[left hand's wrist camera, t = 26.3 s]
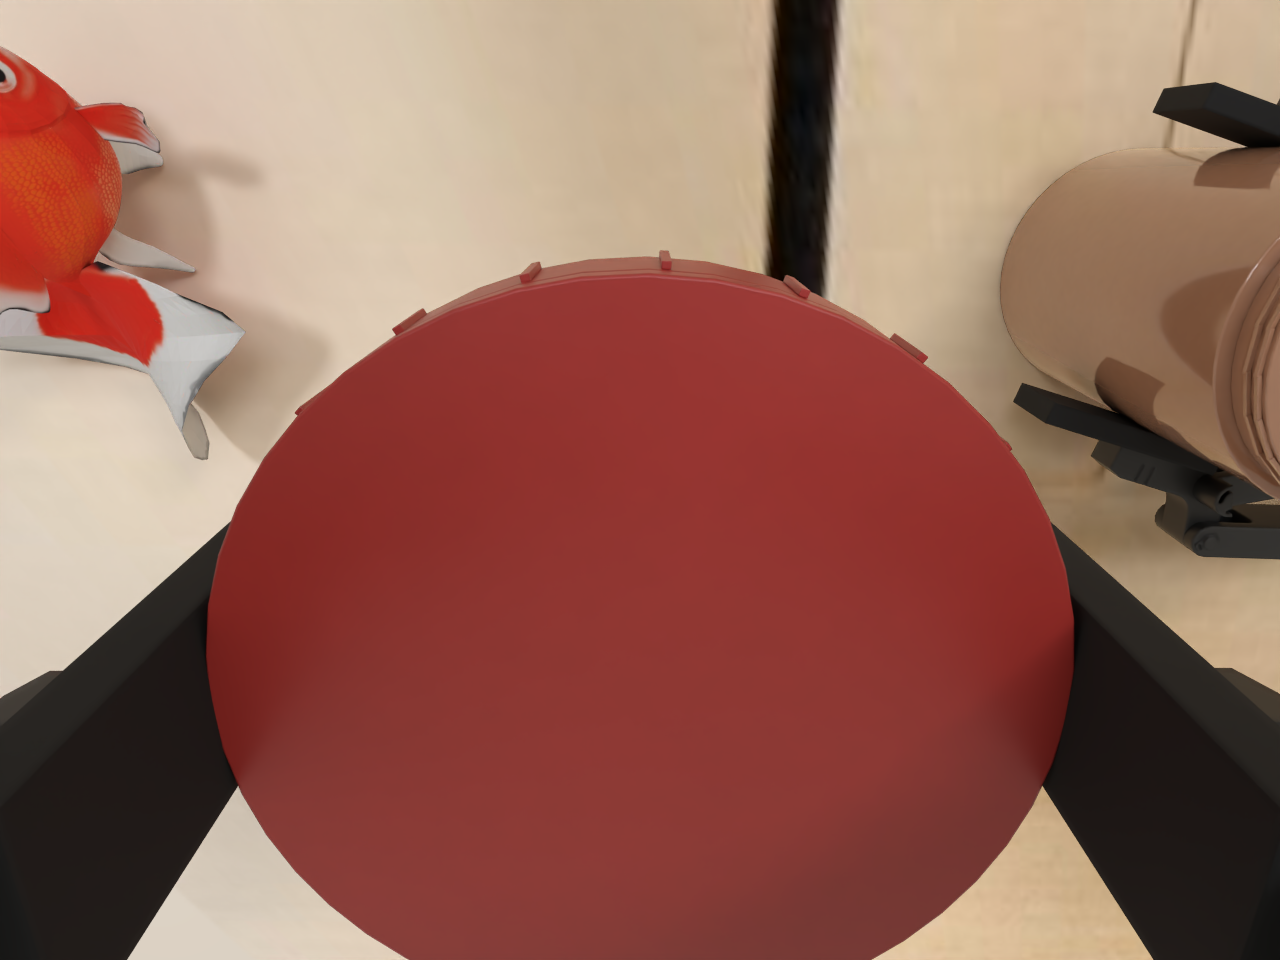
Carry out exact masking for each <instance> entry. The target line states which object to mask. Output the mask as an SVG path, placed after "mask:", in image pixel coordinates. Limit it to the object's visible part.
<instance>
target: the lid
mask: <svg viewBox="0 0 1280 960" xmlns="http://www.w3.org/2000/svg"><path fill="white" fill-rule="evenodd" d="M392 330H393V331H394V333H395V334H396V335H395V336H394V337H392V338H391V339H390V340H388V341H387V342H385V343H384V344H382V345H381V346H380V347H378V348H377V349H375V350H374V351H373V352H371V353H370V354H368V355H367V356H366V357H364V358H363V359H362V360H360V361H359V362H357V363H356V364H355V365H353V366H352V367H351V368H349V369H348V370H346V371H345V372H344V373H343V374H341V375H340V376H339V377H338V378H337V379H336V380H335V381H334V382H333V383H332V384H330V385H329V386H328V387H326V388H325V389H324V390H322V391H321V392H319V393H318V394H317V395H315V396H314V397H313V398H311V399H310V400H309V401H307V402H306V403H304V404H303V405H302V406H300V407H299V408H298V410H297V411H296V412H295V414H296V415H298V416H297V417H296V418H295V420H294V421H293V422H292V424H291V425H290V426H289V427H288V429H287V430H286V431H285V432H284V434H283V435H282V436H281V437H280V439H279V440H278V441H277V442H276V444H275V445H274V446H273V447H272V449H271V450H270V451H269V452H268V454H267V455H266V456H265V457H264V459H263V461H262V462H261V464H260V466H259V468H258V469H257V471H256V473H255V475H254V477H253V478H252V480H251V482H250V484H249V485H248V487H247V489H246V491H245V492H244V494H243V496H242V498H241V499H240V501H239V503H238V505H237V507H236V509H235V512H234V515H233V517H232V520H231V523H230V525H229V528H228V531H227V533H226V536H225V539H224V541H223V544H222V547H221V549H220V552H219V555H218V559H217V564H216V569H215V574H214V578H213V583H212V588H211V593H210V598H209V603H208V616H207V639H206V663H207V672H208V679H209V685H210V690H211V696H212V701H213V706H214V711H215V715H216V720H217V724H218V729H219V733H220V738H221V742H222V747H223V751H224V753H225V756H226V758H227V760H228V763H229V765H230V767H231V770H232V772H233V774H234V777H235V779H236V781H237V784H238V786H239V788H240V791H241V793H242V795H243V797H244V798H245V800H246V802H247V803H248V805H249V807H250V808H251V810H252V812H253V813H254V815H255V817H256V818H257V820H258V822H259V823H260V825H261V827H262V828H263V830H264V832H265V833H266V835H267V836H268V838H269V839H270V840H271V841H272V843H273V844H274V845H275V846H276V848H277V849H278V850H279V851H280V853H281V854H282V855H283V857H284V858H285V859H286V860H287V862H288V863H289V864H290V865H291V867H292V868H293V869H294V870H295V872H296V873H297V874H298V875H299V876H300V877H301V878H302V879H303V880H304V881H305V882H306V883H308V884H309V885H310V886H311V887H312V888H313V889H314V890H315V891H316V892H317V893H318V894H319V895H320V896H321V897H322V898H323V899H324V900H325V901H326V902H327V903H328V904H329V905H330V906H331V907H333V908H334V909H335V910H336V911H338V912H339V913H340V914H342V915H343V916H344V917H345V918H347V919H348V920H349V921H351V922H352V923H353V924H354V925H356V926H357V927H358V928H359V929H361V930H362V931H363V932H365V933H366V934H367V935H369V936H371V937H372V938H374V939H376V940H377V941H379V942H380V943H382V944H384V945H385V946H387V947H389V948H390V949H392V950H393V951H395V952H397V953H398V954H400V955H401V956H403V957H405V958H406V959H408V960H872V959H874V958H875V957H877V956H879V955H881V954H882V953H884V952H886V951H887V950H889V949H891V948H893V947H894V946H896V945H898V944H900V943H901V942H903V941H905V940H906V939H907V938H909V937H910V936H911V935H913V934H914V933H916V932H917V931H918V930H920V929H921V928H922V927H924V926H925V925H926V924H928V923H929V922H931V921H932V920H933V919H935V918H936V917H937V916H939V915H940V914H941V913H943V912H944V911H945V910H946V909H947V908H948V907H949V906H950V905H951V904H952V903H953V902H955V901H956V900H957V899H958V898H959V897H960V896H961V895H962V894H963V893H964V892H965V891H966V890H968V889H969V888H970V887H971V886H972V885H973V884H974V883H975V882H976V881H977V880H978V879H979V878H980V877H981V875H982V874H983V873H984V872H985V871H986V869H987V868H988V867H989V866H990V865H991V864H992V862H993V861H994V860H995V859H996V858H997V856H998V855H999V854H1000V853H1001V852H1002V851H1003V849H1004V848H1005V847H1006V846H1007V844H1008V843H1009V841H1010V840H1011V838H1012V837H1013V835H1014V834H1015V832H1016V831H1017V829H1018V828H1019V826H1020V824H1021V823H1022V821H1023V820H1024V818H1025V817H1026V815H1027V814H1028V812H1029V811H1030V809H1031V808H1032V806H1033V804H1034V802H1035V800H1036V798H1037V795H1038V793H1039V791H1040V789H1041V787H1042V785H1043V783H1044V781H1045V779H1046V776H1047V774H1048V772H1049V770H1050V768H1051V766H1052V764H1053V761H1054V758H1055V754H1056V751H1057V748H1058V745H1059V741H1060V738H1061V733H1062V729H1063V725H1064V720H1065V716H1066V711H1067V705H1068V700H1069V695H1070V690H1071V685H1072V680H1073V674H1074V616H1073V610H1072V604H1071V598H1070V592H1069V586H1068V579H1067V573H1066V568H1065V565H1064V562H1063V559H1062V556H1061V553H1060V550H1059V547H1058V544H1057V541H1056V538H1055V535H1054V532H1053V528H1052V525H1051V522H1050V519H1049V517H1048V515H1047V513H1046V511H1045V509H1044V508H1043V506H1042V504H1041V502H1040V500H1039V498H1038V496H1037V494H1036V492H1035V490H1034V488H1033V486H1032V484H1031V482H1030V480H1029V479H1028V477H1027V475H1026V473H1025V471H1024V469H1023V468H1022V467H1021V465H1020V464H1019V462H1018V461H1017V460H1016V458H1015V457H1014V456H1013V454H1012V453H1011V452H1010V451H1011V450H1012V448H1011V446H1010V445H1009V443H1008V442H1006V441H1005V440H1004V439H1002V438H1001V437H1000V436H999V435H998V434H997V433H996V431H995V430H994V428H993V427H992V426H991V424H990V423H989V422H988V421H987V420H986V419H985V418H984V417H983V416H982V415H981V414H980V413H979V412H978V411H977V410H976V409H975V408H974V407H973V406H972V405H971V404H970V403H969V402H968V401H967V400H966V399H965V398H964V397H963V396H962V395H961V394H960V393H959V392H958V391H957V390H956V389H955V388H954V387H953V386H952V385H951V384H950V383H949V382H947V381H946V380H944V379H943V378H942V377H940V376H939V375H938V374H936V373H935V372H934V371H932V370H931V369H930V368H928V367H927V366H926V365H924V364H923V363H924V362H925V361H926V359H927V358H928V356H926V355H925V354H924V353H922V352H921V351H920V350H918V349H917V348H915V347H914V346H912V345H911V344H909V343H908V342H907V341H905V340H904V339H902V338H901V337H899V336H898V335H897V334H895V333H894V334H893V336H892V337H891V338H890V339H889V338H888V337H886V336H885V335H884V334H882V333H881V332H879V331H878V330H877V329H875V328H874V327H873V326H871V325H870V324H869V323H867V322H866V321H864V320H863V319H861V318H859V317H857V316H855V315H853V314H852V313H850V312H848V311H846V310H844V309H842V308H840V307H839V306H837V305H835V304H833V303H831V302H829V301H828V300H826V299H824V298H822V297H820V296H818V295H816V294H814V293H811V292H810V290H809V289H807V288H806V287H805V286H803V285H802V284H801V283H800V282H798V281H797V280H796V279H795V278H793V277H790V276H788V275H786V276H785V279H784V281H783V282H782V281H779V280H777V279H774V278H771V277H769V276H766V275H763V274H759V273H755V272H750V271H746V270H741V269H737V268H732V267H728V266H724V265H719V264H715V263H710V262H705V261H693V260H682V259H671V258H670V254H669V251H662V250H661V251H660V254H659V258H658V257H630V258H610V259H590V260H584V261H579V262H574V263H568V264H563V265H557V266H552V267H547V268H541V264H540V262H536V263H532V264H531V265H530V266H529V267H528V268H527V269H526V270H524V271H523V272H522V273H521V274H519V275H516V276H513V277H510V278H507V279H504V280H501V281H498V282H495V283H492V284H489V285H486V286H483V287H480V288H478V289H476V290H474V291H472V292H470V293H468V294H466V295H464V296H461V297H459V298H457V299H455V300H453V301H451V302H449V303H447V304H445V305H443V306H441V307H439V308H437V309H435V310H433V311H431V312H429V313H426V312H425V310H424V309H423V308H422V309H421V310H419V311H417V312H416V313H414V314H413V315H411V316H410V317H409V318H407V319H406V320H404V321H403V322H401V323H400V324H398V325H397V326H396V327H394V328H393V329H392Z"/></svg>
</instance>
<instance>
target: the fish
mask: <svg viewBox="0 0 1280 960" xmlns="http://www.w3.org/2000/svg"><path fill="white" fill-rule="evenodd" d="M159 152H160V143H159V140H158V139H157V138H156V136H155V135H154V134H153V133H152V131H151V130H150V129H149V128H148V126H147V124H146V121H145V118H144V116H143V113H142V112H141V111H139V110H138V109H136V108H133V107H128V106H125V105H123V104H121V103H101V104H94V105H88V106H81V105H80V104H79V103H78V102H77V101H76V100H75V99H73V98H72V97H71V96H70V95H69V94H67V93H66V91H65V90H64V89H62V88H61V87H60V86H59V85H58V84H57V83H56V82H54V81H53V80H51V79H50V78H49V77H47V76H46V75H44V74H43V73H42V72H40V71H39V70H38V69H37V68H36V67H34V66H33V65H31V64H30V63H28V62H27V61H25V60H23V59H22V58H20V57H19V56H17V55H15V54H14V53H12V52H10V51H9V50H7V49H5V48H3V47H1V46H0V350H6V351H15V352H24V353H33V354H42V355H51V356H60V357H69V358H77V359H83V360H89V361H95V362H101V363H107V364H113V365H118V366H124V367H128V368H131V369H134V370H138V371H141V372H144V373H147V374H149V375H150V377H151V378H152V380H153V381H154V383H155V385H156V386H157V388H158V390H159V391H160V393H161V394H162V396H163V398H164V400H165V401H166V403H167V405H168V407H169V409H170V411H171V413H172V415H173V418H174V420H175V423H176V424H177V426H178V428H179V430H180V432H181V433H182V435H183V437H184V439H185V441H186V443H187V446H188V448H189V449H190V451H191V453H192V454H193V456H194V457H195V458H198V459H201V460H205V459H208V451H209V440H208V437H207V434H206V430H205V428H204V425H203V422H202V420H201V417H200V414H199V412H198V411H197V410H196V409H195V408H194V406H193V405H192V404H191V402H192V401H193V399H194V397H195V396H196V394H197V392H198V391H199V389H200V387H201V386H202V384H203V382H204V381H205V379H206V378H207V377H208V376H209V375H210V374H211V373H212V372H213V371H214V370H215V369H216V368H217V367H218V366H219V365H220V363H221V362H222V361H223V360H224V359H225V358H226V357H227V356H228V354H229V353H230V352H231V350H232V349H233V348H234V346H235V345H236V344H237V343H238V341H239V340H240V339H241V337H242V336H243V335H244V333H245V331H244V330H243V329H242V328H241V327H239V326H238V325H237V324H236V323H235V322H233V321H232V320H231V319H230V318H229V317H227V316H226V315H225V314H224V313H223V312H220V311H218V310H215V309H213V308H210V307H208V306H206V305H203V304H201V303H198V302H196V301H193V300H191V299H188V298H186V297H183V296H181V295H179V294H177V293H174V292H172V291H170V290H168V289H166V288H164V287H161V286H159V285H157V284H155V283H152V282H150V281H147V280H145V279H142V278H140V277H137V276H135V275H132V274H130V273H127V272H125V271H122V270H119V269H117V268H114V267H111V266H109V265H106V264H104V263H101V262H98V261H97V262H95V263H94V259H95V257H96V255H97V253H98V251H99V252H100V253H101V254H102V255H104V256H105V257H106V258H108V259H109V260H111V261H113V262H115V263H118V264H121V265H127V266H136V267H151V268H163V269H171V270H179V271H186V272H195V270H196V269H195V268H194V267H192V266H190V265H188V264H186V263H184V262H182V261H181V260H179V259H177V258H175V257H173V256H171V255H170V254H168V253H166V252H164V251H162V250H160V249H158V248H155V247H153V246H150V245H148V244H145V243H143V242H140V241H137V240H135V239H132V238H130V237H128V236H126V235H124V234H122V233H120V232H119V231H117V230H116V229H115V228H114V225H115V223H116V220H117V217H118V213H119V209H120V204H121V195H122V174H129V173H133V172H136V171H139V170H142V169H146V168H153V167H159V166H162V165H163V158H162V157H161V155H160V154H158V153H159ZM121 173H122V174H121Z"/></svg>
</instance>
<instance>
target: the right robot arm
mask: <svg viewBox="0 0 1280 960" xmlns="http://www.w3.org/2000/svg"><path fill="white" fill-rule="evenodd" d="M1153 113H1156V114H1158V115H1161V116H1164V117H1167V118H1169V119H1172V120H1175V121H1178V122H1180V123H1183V124H1186V125H1189V126H1191V127H1194V128H1197V129H1200V130H1202V131H1205V132H1208V133H1211V134H1213V135H1216V136H1219V137H1222V138H1225V139H1227V140H1230V141H1233V142H1236V143H1238V144H1241V145H1244V146H1247V147H1280V100H1279V101H1278V103H1277V105H1276V104H1273V103H1270V102H1268V101H1265V100H1262V99H1260V98H1257V97H1254V96H1251V95H1249V94H1246V93H1243V92H1241V91H1238V90H1235V89H1233V88H1230V87H1227V86H1224V85H1222V84H1219V83H1216V82H1214V83H1205V84H1197V85H1189V86H1181V87H1173V88H1165V89H1163V91H1162V94H1161V96H1160V98H1159V100H1158V102H1157V104H1156V106H1155V108H1154V110H1153ZM1013 402H1014V403H1016V404H1017V405H1019V406H1020V407H1022V408H1023V409H1025V410H1026V411H1028V412H1029V413H1031V414H1032V415H1034V416H1035V417H1037V418H1038V419H1040V420H1041V421H1043V422H1044V423H1047V424H1050V425H1053V426H1056V427H1059V428H1063V429H1066V430H1069V431H1072V432H1075V433H1079V434H1082V435H1085V436H1088V437H1091V438H1095V439H1098V440H1099V441H1098V443H1097V445H1096V447H1095V449H1094V451H1093V453H1092V455H1091V456H1092V457H1093V458H1094V459H1095V460H1096V461H1097V462H1098V463H1099V464H1101V465H1102V466H1103V467H1105V468H1106V469H1108V470H1109V471H1111V472H1112V473H1114V474H1115V475H1117V476H1118V477H1120V478H1123V479H1126V480H1129V481H1132V482H1136V483H1139V484H1142V485H1146V486H1149V487H1152V488H1155V489H1158V490H1162V491H1165V492H1166V494H1167V496H1166V504H1164V505H1162V506H1161V507H1160V508H1159V509H1158V510H1157V513H1156V515H1155V522H1156V524H1157V526H1158V527H1160V528H1161V529H1162V530H1164V531H1165V532H1166V533H1168V534H1169V535H1170V536H1172V537H1173V538H1175V539H1176V540H1177V541H1179V542H1180V543H1181V544H1183V545H1184V546H1186V547H1187V548H1189V549H1190V550H1191V551H1193V552H1194V553H1196V554H1197V555H1199V556H1203V557H1227V558H1257V559H1280V505H1264V504H1247V503H1252V502H1258V501H1263V500H1269V499H1274V498H1273V497H1272V496H1270V495H1268V494H1266V493H1264V492H1262V491H1261V490H1259V489H1257V488H1255V487H1253V486H1251V485H1250V484H1248V483H1246V482H1244V481H1242V480H1240V479H1238V478H1237V477H1235V476H1233V475H1231V474H1229V473H1227V472H1226V471H1224V470H1222V469H1220V468H1218V467H1216V466H1215V465H1213V464H1211V463H1209V462H1207V461H1205V460H1203V459H1202V458H1200V457H1198V456H1196V455H1194V454H1192V453H1191V452H1189V451H1187V450H1185V449H1183V448H1181V447H1180V446H1178V445H1176V444H1174V443H1172V442H1170V441H1169V440H1167V439H1165V438H1163V437H1161V436H1159V435H1157V434H1156V433H1154V432H1152V431H1150V430H1148V429H1146V428H1145V427H1143V426H1141V425H1139V424H1137V423H1135V422H1134V421H1132V420H1130V419H1128V418H1126V417H1124V416H1122V415H1121V414H1118V413H1115V412H1112V411H1109V410H1106V409H1103V408H1100V407H1096V406H1093V405H1090V404H1087V403H1084V402H1081V401H1078V400H1074V399H1071V398H1068V397H1065V396H1062V395H1059V394H1056V393H1052V392H1049V391H1046V390H1043V389H1040V388H1037V387H1033V386H1030V385H1027V384H1024V383H1022V384H1021V386H1020V389H1019V391H1018V393H1017V395H1016V397H1015V399H1014V401H1013Z"/></svg>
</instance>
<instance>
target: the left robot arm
mask: <svg viewBox="0 0 1280 960" xmlns="http://www.w3.org/2000/svg"><path fill="white" fill-rule="evenodd" d="M230 523H231V522H229V523H228V524H227V525H226V526H225V527H224V528H223V529H222V530H220V531H219V532H218V533H217V534H216V535H215V536H214V537H213V538H211V539H210V540H209V541H208V542H207V543H206V544H205V545H204V546H203V547H201V548H200V549H199V550H198V551H197V552H196V553H195V554H194V555H192V556H191V557H190V558H189V559H188V560H187V561H186V562H185V563H183V564H182V565H181V566H180V567H179V568H178V569H177V570H176V571H174V572H173V573H172V574H171V575H170V576H169V577H168V578H167V579H165V580H164V581H163V582H162V583H161V584H160V585H159V586H158V587H157V588H155V589H154V590H153V591H152V592H151V593H150V594H149V595H148V596H146V597H145V598H144V599H143V600H142V601H141V602H140V603H139V604H137V605H136V606H135V607H134V608H133V609H132V610H131V611H130V612H128V613H127V614H126V615H125V616H124V617H123V618H122V619H121V620H119V621H118V622H117V623H116V624H115V625H114V626H113V627H112V628H111V629H109V630H108V631H107V632H106V633H105V634H104V635H103V636H102V637H100V638H99V639H98V640H97V641H96V642H95V643H94V644H93V645H91V646H90V647H89V648H88V649H87V650H86V651H85V652H84V653H82V654H81V655H80V656H79V657H78V658H77V659H76V660H75V661H73V662H72V663H71V664H70V665H69V666H68V667H67V668H66V669H65V670H63V671H49V672H47V673H45V674H43V675H41V676H40V677H38V678H36V679H34V680H32V681H30V682H28V683H27V684H25V685H23V686H21V687H19V688H17V689H15V690H14V691H12V692H10V693H8V694H6V695H4V696H3V697H2V698H0V960H127V959H128V957H129V956H130V954H131V953H132V951H133V950H134V948H135V946H136V945H137V943H138V942H139V940H140V939H141V937H142V935H143V934H144V932H145V931H146V929H147V928H148V926H149V924H150V923H151V921H152V920H153V918H154V917H155V915H156V913H157V912H158V910H159V909H160V907H161V906H162V904H163V903H164V901H165V899H166V898H167V896H168V895H169V893H170V892H171V890H172V888H173V887H174V885H175V884H176V882H177V881H178V879H179V877H180V876H181V874H182V873H183V871H184V870H185V868H186V867H187V865H188V863H189V862H190V860H191V859H192V857H193V856H194V854H195V852H196V851H197V849H198V848H199V846H200V845H201V843H202V841H203V840H204V838H205V837H206V835H207V834H208V832H209V831H210V829H211V827H212V826H213V824H214V823H215V821H216V820H217V818H218V816H219V815H220V813H221V812H222V810H223V809H224V807H225V805H226V804H227V802H228V801H229V799H230V798H231V796H232V795H233V793H234V791H235V790H236V788H237V787H238V784H237V781H236V779H235V777H234V774H233V772H232V770H231V767H230V765H229V763H228V760H227V758H226V756H225V753H224V751H223V747H222V742H221V738H220V733H219V729H218V724H217V720H216V715H215V711H214V706H213V701H212V696H211V690H210V685H209V679H208V672H207V663H206V639H207V616H208V603H209V598H210V593H211V588H212V583H213V578H214V574H215V569H216V564H217V559H218V555H219V552H220V549H221V547H222V544H223V541H224V539H225V536H226V533H227V531H228V528H229V525H230ZM1051 525H1052V528H1053V532H1054V535H1055V538H1056V541H1057V544H1058V547H1059V550H1060V553H1061V556H1062V559H1063V562H1064V565H1065V568H1066V573H1067V579H1068V586H1069V592H1070V598H1071V604H1072V610H1073V616H1074V674H1073V680H1072V685H1071V690H1070V695H1069V700H1068V705H1067V711H1066V716H1065V720H1064V725H1063V729H1062V733H1061V738H1060V741H1059V745H1058V748H1057V751H1056V754H1055V758H1054V761H1053V764H1052V766H1051V768H1050V770H1049V772H1048V774H1047V776H1046V779H1045V781H1044V783H1043V785H1042V786H1043V787H1044V789H1045V790H1046V792H1047V794H1048V795H1049V797H1050V798H1051V800H1052V801H1053V803H1054V805H1055V806H1056V808H1057V809H1058V811H1059V812H1060V814H1061V816H1062V817H1063V819H1064V820H1065V822H1066V823H1067V825H1068V827H1069V828H1070V830H1071V831H1072V833H1073V834H1074V836H1075V837H1076V839H1077V841H1078V842H1079V844H1080V845H1081V847H1082V848H1083V850H1084V852H1085V853H1086V855H1087V856H1088V858H1089V859H1090V861H1091V863H1092V864H1093V866H1094V867H1095V869H1096V870H1097V872H1098V873H1099V875H1100V877H1101V878H1102V880H1103V881H1104V883H1105V884H1106V886H1107V888H1108V889H1109V891H1110V892H1111V894H1112V895H1113V897H1114V899H1115V900H1116V902H1117V903H1118V905H1119V906H1120V908H1121V909H1122V911H1123V913H1124V914H1125V916H1126V917H1127V919H1128V920H1129V922H1130V924H1131V925H1132V927H1133V928H1134V930H1135V931H1136V933H1137V935H1138V936H1139V938H1140V939H1141V941H1142V942H1143V944H1144V946H1145V947H1146V949H1147V950H1148V952H1149V953H1150V955H1151V956H1152V958H1153V960H1280V694H1279V693H1277V692H1275V691H1273V690H1272V689H1270V688H1268V687H1266V686H1264V685H1262V684H1260V683H1258V682H1257V681H1255V680H1253V679H1251V678H1249V677H1247V676H1245V675H1244V674H1242V673H1240V672H1238V671H1236V670H1234V669H1232V668H1214V667H1213V666H1212V665H1210V664H1209V663H1208V662H1207V661H1206V660H1205V659H1204V658H1203V657H1202V656H1200V655H1199V654H1198V653H1197V652H1196V651H1195V650H1194V649H1193V648H1191V647H1190V646H1189V645H1188V644H1187V643H1186V642H1185V641H1184V640H1182V639H1181V638H1180V637H1179V636H1178V635H1177V634H1176V633H1175V632H1173V631H1172V630H1171V629H1170V628H1169V627H1168V626H1167V625H1166V624H1164V623H1163V622H1162V621H1161V620H1160V619H1159V618H1158V617H1157V616H1156V615H1154V614H1153V613H1152V612H1151V611H1150V610H1149V609H1148V608H1147V607H1145V606H1144V605H1143V604H1142V603H1141V602H1140V601H1139V600H1138V599H1136V598H1135V597H1134V596H1133V595H1132V594H1131V593H1130V592H1129V591H1127V590H1126V589H1125V588H1124V587H1123V586H1122V585H1121V584H1120V583H1118V582H1117V581H1116V580H1115V579H1114V578H1113V577H1112V576H1111V575H1110V574H1108V573H1107V572H1106V571H1105V570H1104V569H1103V568H1102V567H1101V566H1099V565H1098V564H1097V563H1096V562H1095V561H1094V560H1093V559H1092V558H1090V557H1089V556H1088V555H1087V554H1086V553H1085V552H1084V551H1083V550H1081V549H1080V548H1079V547H1078V546H1077V545H1076V544H1075V543H1074V542H1072V541H1071V540H1070V539H1069V538H1068V537H1067V536H1066V535H1065V534H1064V533H1062V532H1061V531H1060V530H1059V529H1058V528H1057V527H1056V526H1055V525H1053V524H1052V523H1051Z"/></svg>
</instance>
